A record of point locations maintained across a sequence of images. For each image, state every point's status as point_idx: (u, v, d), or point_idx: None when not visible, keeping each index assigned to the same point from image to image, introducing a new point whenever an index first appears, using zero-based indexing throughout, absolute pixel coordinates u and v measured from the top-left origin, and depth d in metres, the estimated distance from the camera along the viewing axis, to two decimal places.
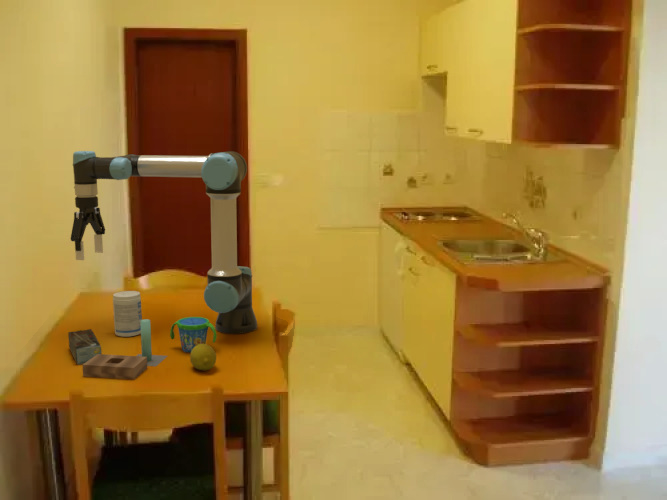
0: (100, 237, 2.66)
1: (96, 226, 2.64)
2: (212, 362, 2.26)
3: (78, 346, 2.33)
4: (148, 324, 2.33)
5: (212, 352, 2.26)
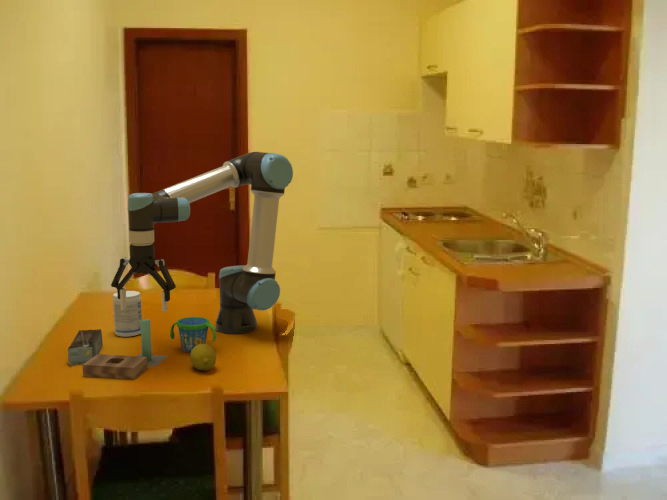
0: (162, 294, 2.30)
1: None
2: (212, 362, 2.26)
3: (72, 346, 2.33)
4: (148, 324, 2.33)
5: (212, 352, 2.26)
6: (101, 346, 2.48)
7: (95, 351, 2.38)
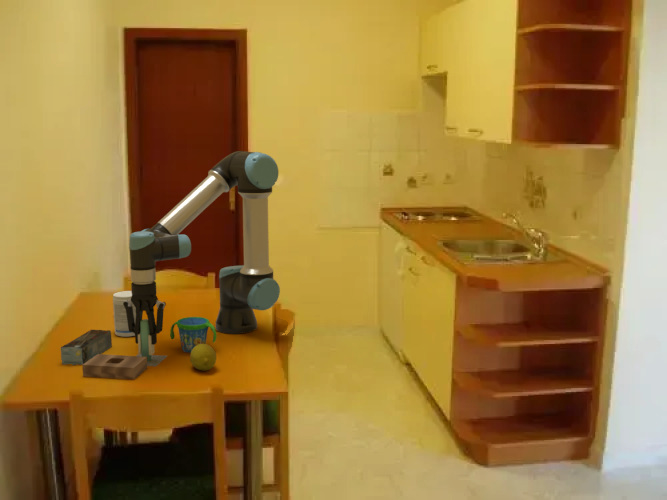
0: None
1: None
2: (212, 362, 2.26)
3: (66, 345, 2.34)
4: (148, 324, 2.33)
5: (212, 352, 2.26)
6: (107, 347, 2.46)
7: (91, 352, 2.37)
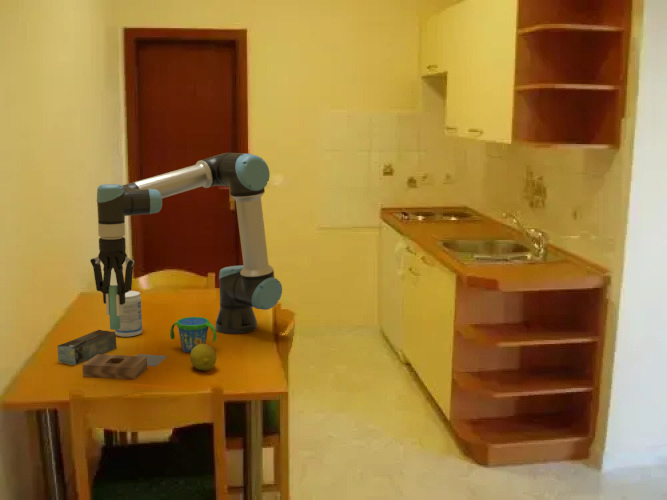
0: None
1: None
2: (212, 362, 2.26)
3: (63, 344, 2.35)
4: (117, 290, 2.21)
5: (212, 352, 2.26)
6: (109, 349, 2.45)
7: (88, 353, 2.36)
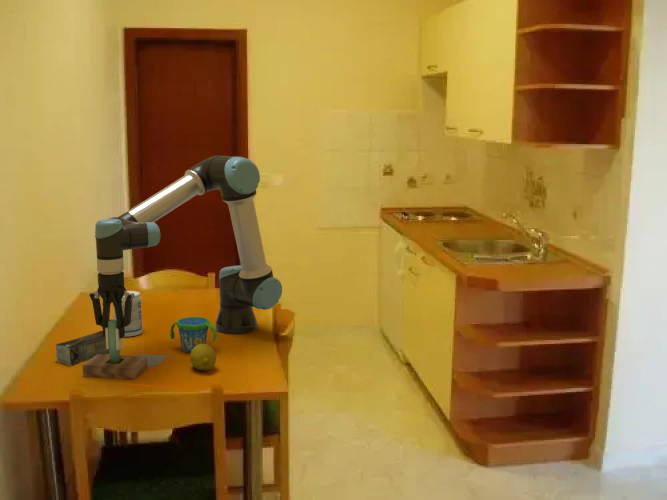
0: (116, 331, 2.22)
1: None
2: (212, 362, 2.26)
3: (62, 343, 2.36)
4: (116, 324, 2.22)
5: (212, 352, 2.26)
6: None
7: (85, 353, 2.36)
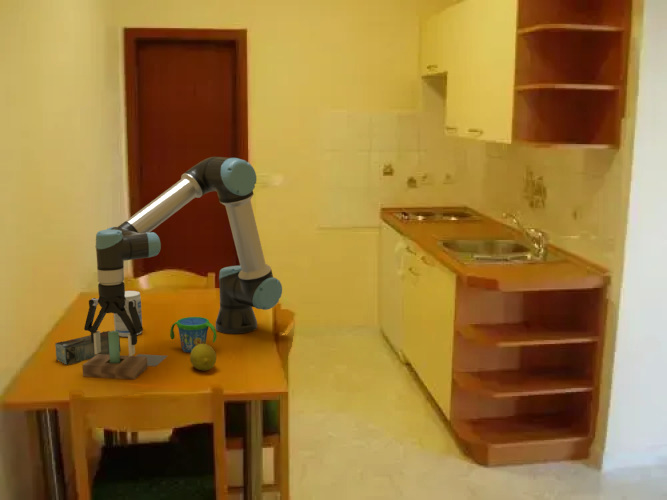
0: None
1: None
2: (212, 362, 2.26)
3: (62, 342, 2.37)
4: (116, 336, 2.22)
5: (212, 352, 2.26)
6: None
7: (82, 353, 2.36)
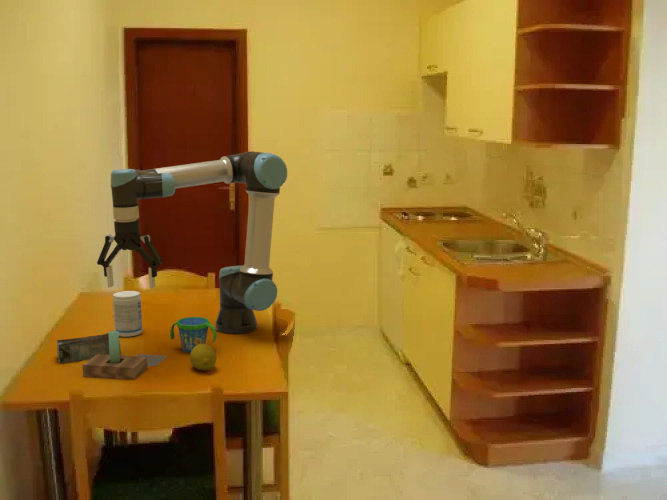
0: (149, 270, 2.29)
1: None
2: (212, 362, 2.26)
3: (63, 340, 2.39)
4: (116, 336, 2.22)
5: (212, 352, 2.26)
6: (108, 354, 2.39)
7: (77, 353, 2.36)
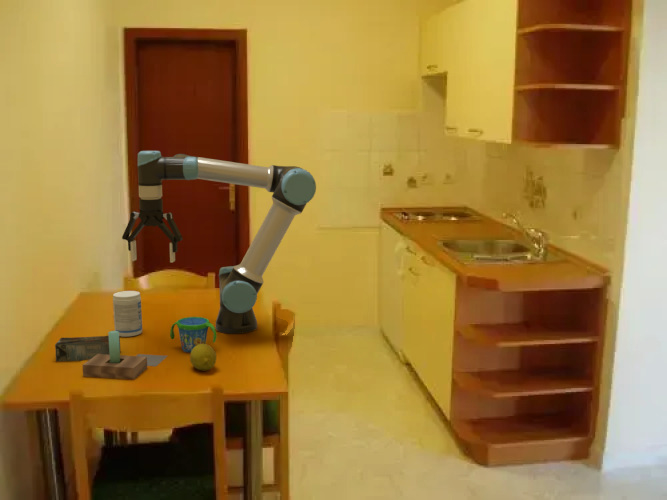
0: (170, 245, 2.46)
1: None
2: (212, 362, 2.26)
3: (66, 338, 2.41)
4: (116, 336, 2.22)
5: (212, 352, 2.26)
6: None
7: (74, 353, 2.36)
